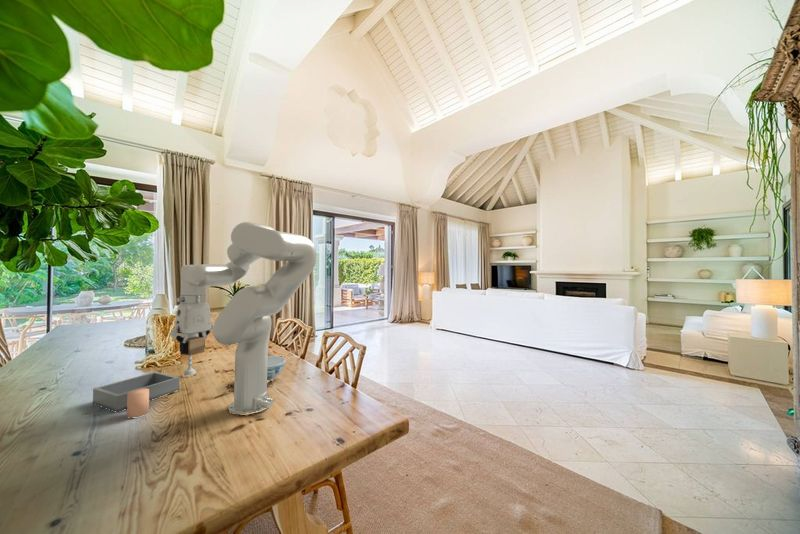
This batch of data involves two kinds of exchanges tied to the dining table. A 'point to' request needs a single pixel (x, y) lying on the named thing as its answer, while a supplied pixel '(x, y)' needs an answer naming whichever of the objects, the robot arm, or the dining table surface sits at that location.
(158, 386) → the tray
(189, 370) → the chalice
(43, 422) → the dining table surface
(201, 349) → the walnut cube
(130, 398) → the terracotta cylinder
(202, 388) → the dining table surface
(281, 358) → the chinaware
